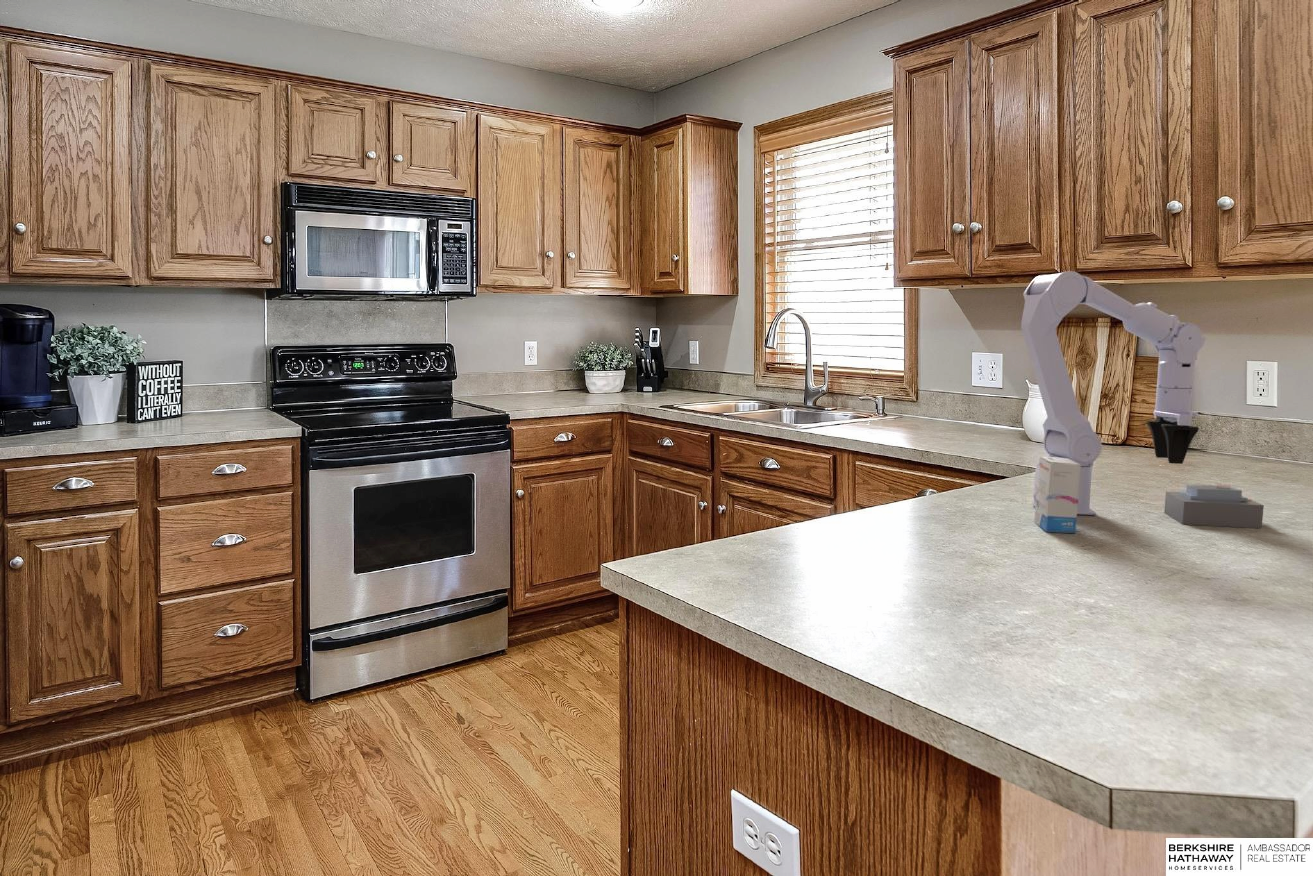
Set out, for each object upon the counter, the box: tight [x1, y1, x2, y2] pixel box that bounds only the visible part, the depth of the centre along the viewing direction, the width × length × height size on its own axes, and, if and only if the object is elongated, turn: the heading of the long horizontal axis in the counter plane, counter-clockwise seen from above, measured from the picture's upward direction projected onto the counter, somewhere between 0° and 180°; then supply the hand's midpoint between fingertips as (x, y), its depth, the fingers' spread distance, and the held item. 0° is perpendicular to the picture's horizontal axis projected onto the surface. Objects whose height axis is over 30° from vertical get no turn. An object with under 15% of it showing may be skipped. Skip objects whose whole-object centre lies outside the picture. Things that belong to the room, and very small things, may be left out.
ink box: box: [1033, 455, 1081, 534], centre depth 144 cm, size 8×5×12 cm, turn 168°
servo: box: [1179, 483, 1248, 502], centre depth 150 cm, size 9×4×7 cm, turn 79°
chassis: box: [1163, 490, 1264, 529], centre depth 150 cm, size 12×10×4 cm
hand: (1168, 460), depth 158 cm, fingers open, 7 cm apart
